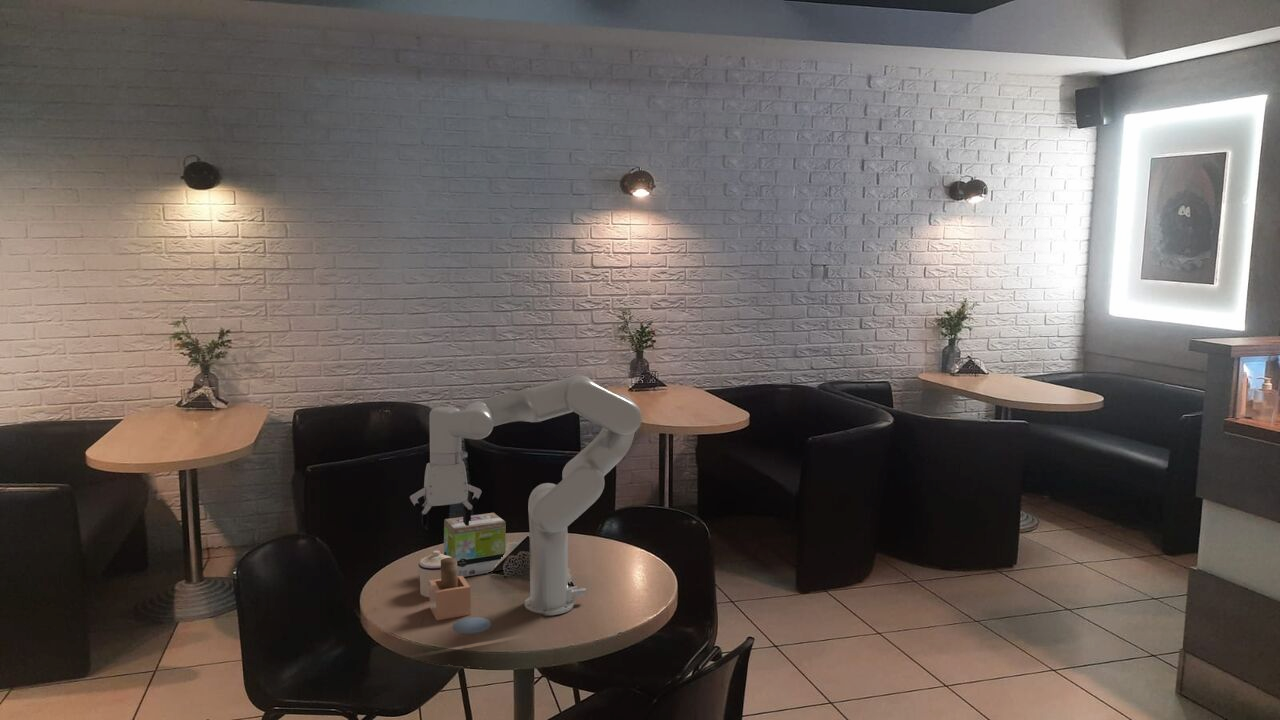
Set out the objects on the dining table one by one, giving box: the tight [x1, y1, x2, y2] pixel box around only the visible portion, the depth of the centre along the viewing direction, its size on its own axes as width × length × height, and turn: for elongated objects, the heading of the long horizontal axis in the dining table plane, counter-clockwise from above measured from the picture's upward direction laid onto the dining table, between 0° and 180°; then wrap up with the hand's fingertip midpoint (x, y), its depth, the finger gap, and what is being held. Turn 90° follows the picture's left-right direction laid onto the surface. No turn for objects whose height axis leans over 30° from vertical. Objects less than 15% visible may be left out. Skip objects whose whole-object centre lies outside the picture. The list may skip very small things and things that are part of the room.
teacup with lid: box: [418, 550, 452, 598], centre depth 231 cm, size 12×9×12 cm
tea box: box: [443, 512, 507, 578], centre depth 247 cm, size 15×10×15 cm, turn 120°
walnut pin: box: [441, 558, 458, 590], centre depth 217 cm, size 4×4×13 cm
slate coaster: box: [452, 616, 492, 634], centre depth 209 cm, size 9×9×1 cm
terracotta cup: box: [429, 576, 472, 621], centre depth 217 cm, size 8×8×8 cm
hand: (446, 526), depth 215 cm, fingers open, 9 cm apart
